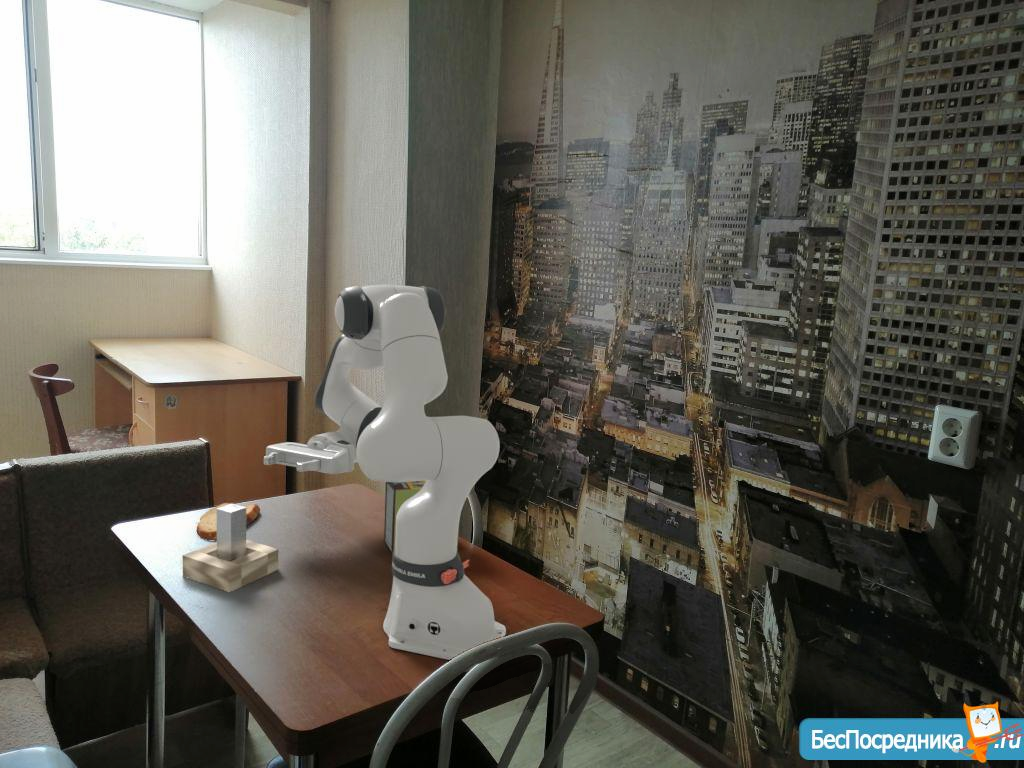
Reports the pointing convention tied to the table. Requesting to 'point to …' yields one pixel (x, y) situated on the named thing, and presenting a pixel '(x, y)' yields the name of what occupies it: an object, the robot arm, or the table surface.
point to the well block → (230, 566)
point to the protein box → (397, 506)
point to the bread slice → (209, 521)
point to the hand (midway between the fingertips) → (282, 464)
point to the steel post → (231, 532)
